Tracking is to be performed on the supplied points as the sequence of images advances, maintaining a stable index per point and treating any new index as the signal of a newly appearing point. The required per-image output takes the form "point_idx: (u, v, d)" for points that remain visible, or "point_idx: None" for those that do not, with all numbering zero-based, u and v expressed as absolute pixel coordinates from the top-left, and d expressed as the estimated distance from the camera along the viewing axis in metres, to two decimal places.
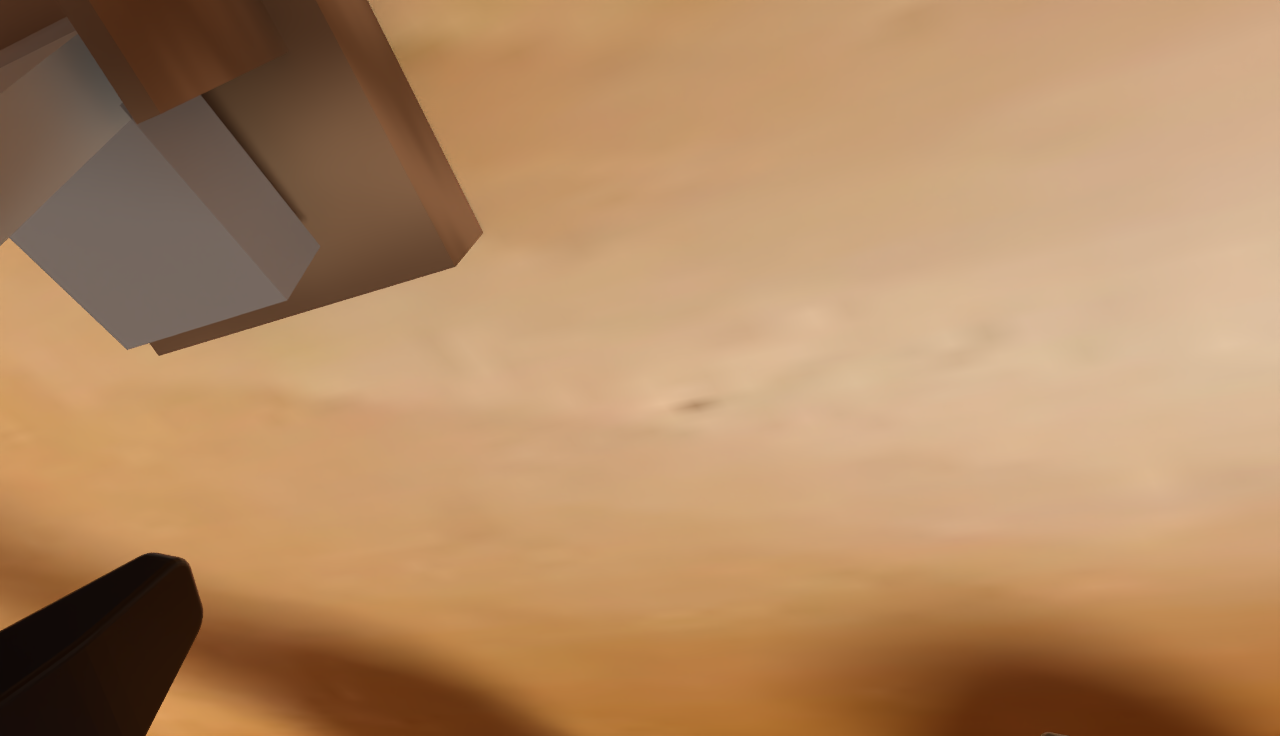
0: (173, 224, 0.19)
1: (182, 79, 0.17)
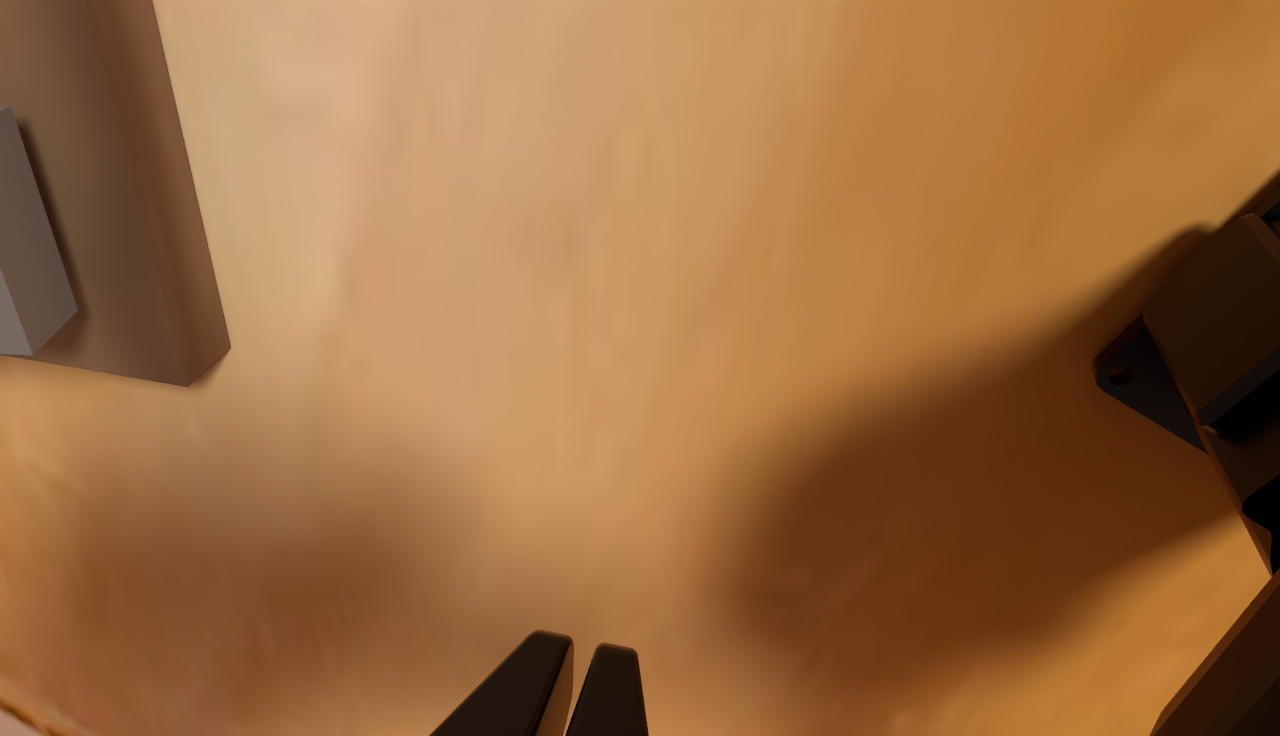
0: None
1: None
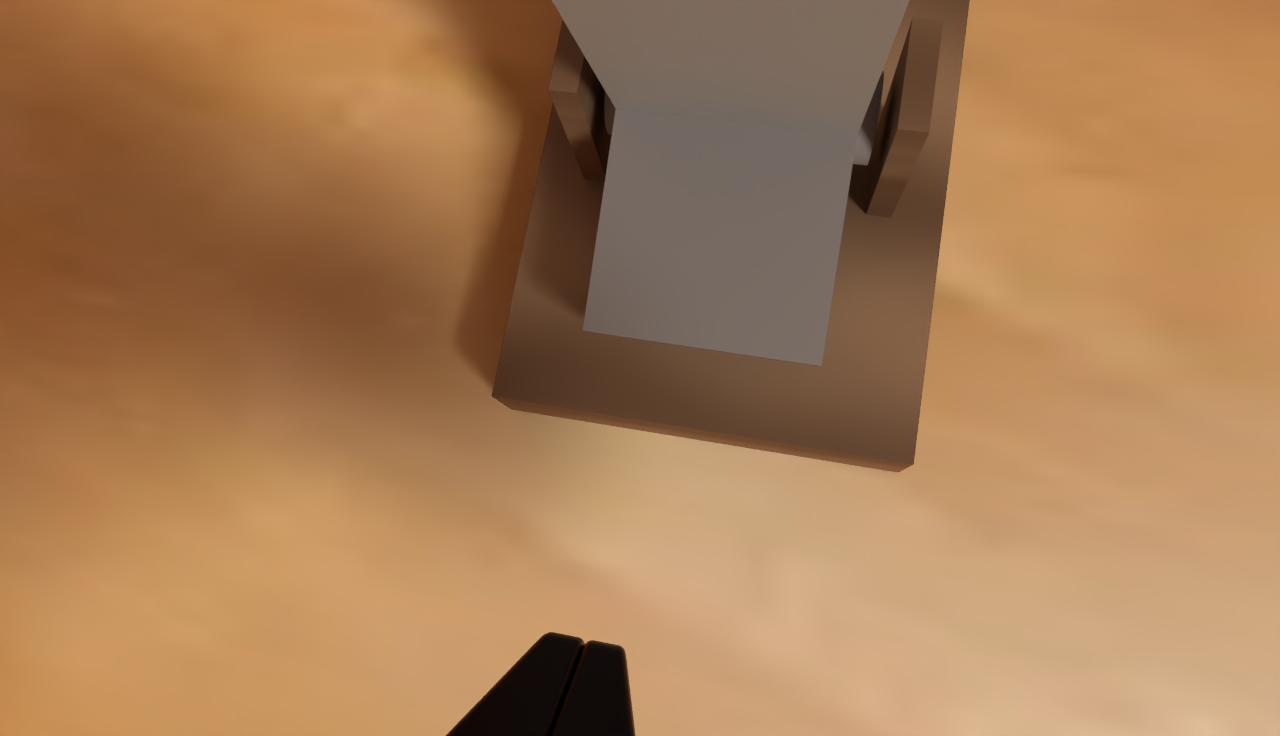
0: (788, 237, 0.19)
1: None
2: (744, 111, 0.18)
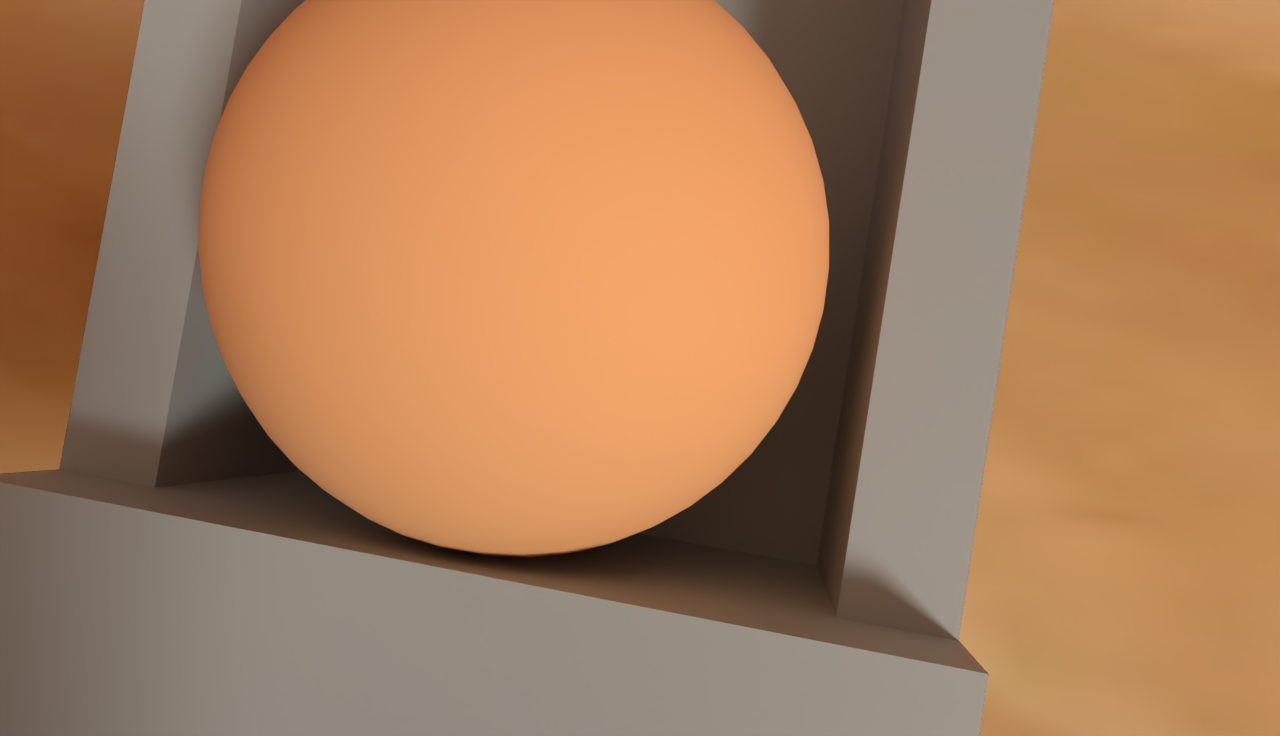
0: None
1: None
2: None
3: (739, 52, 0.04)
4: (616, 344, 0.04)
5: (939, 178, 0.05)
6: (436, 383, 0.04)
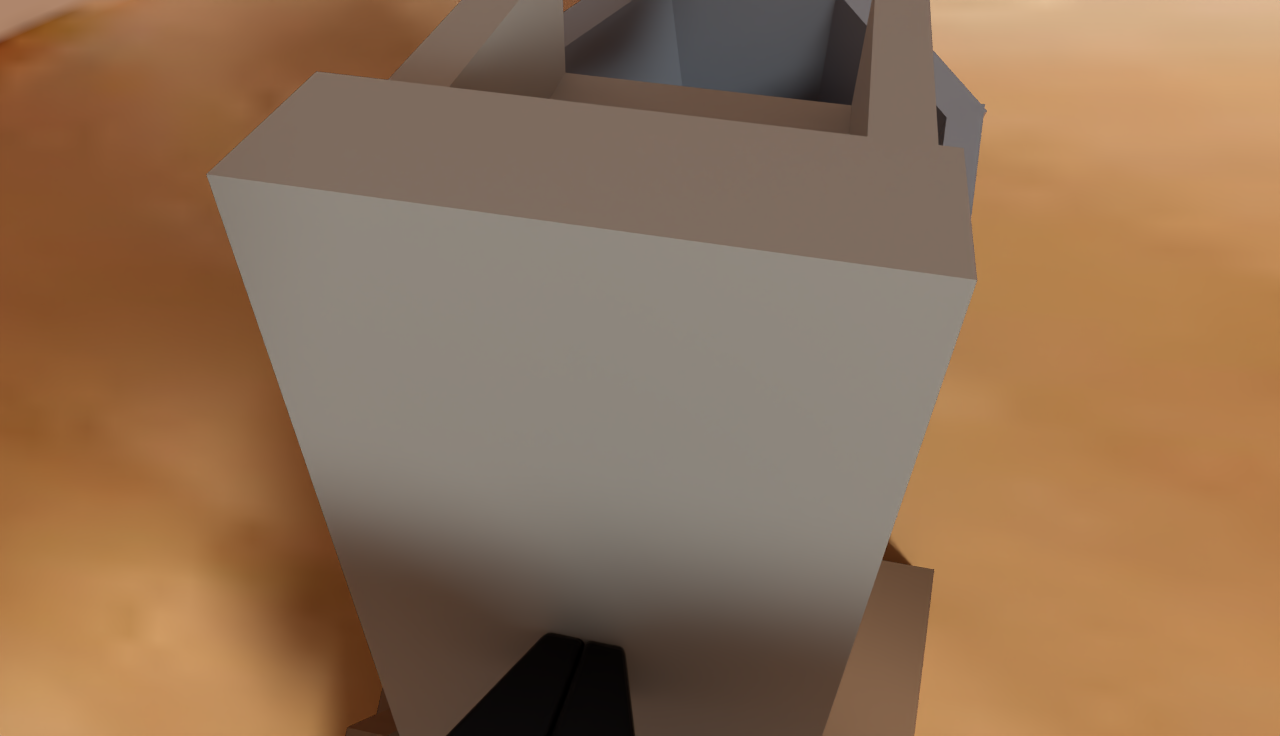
0: None
1: None
2: None
3: None
4: None
5: (888, 84, 0.09)
6: None
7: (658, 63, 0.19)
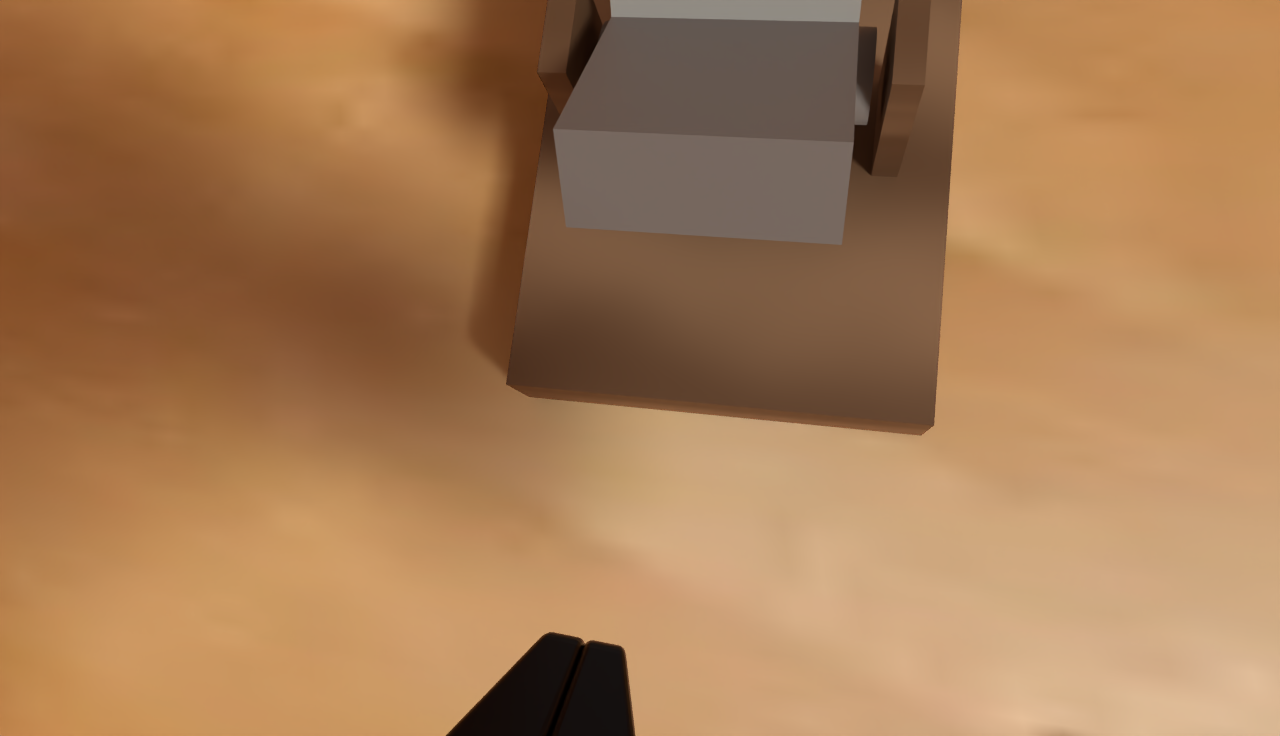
0: (797, 70, 0.17)
1: None
2: None
3: None
4: None
5: None
6: None
7: None
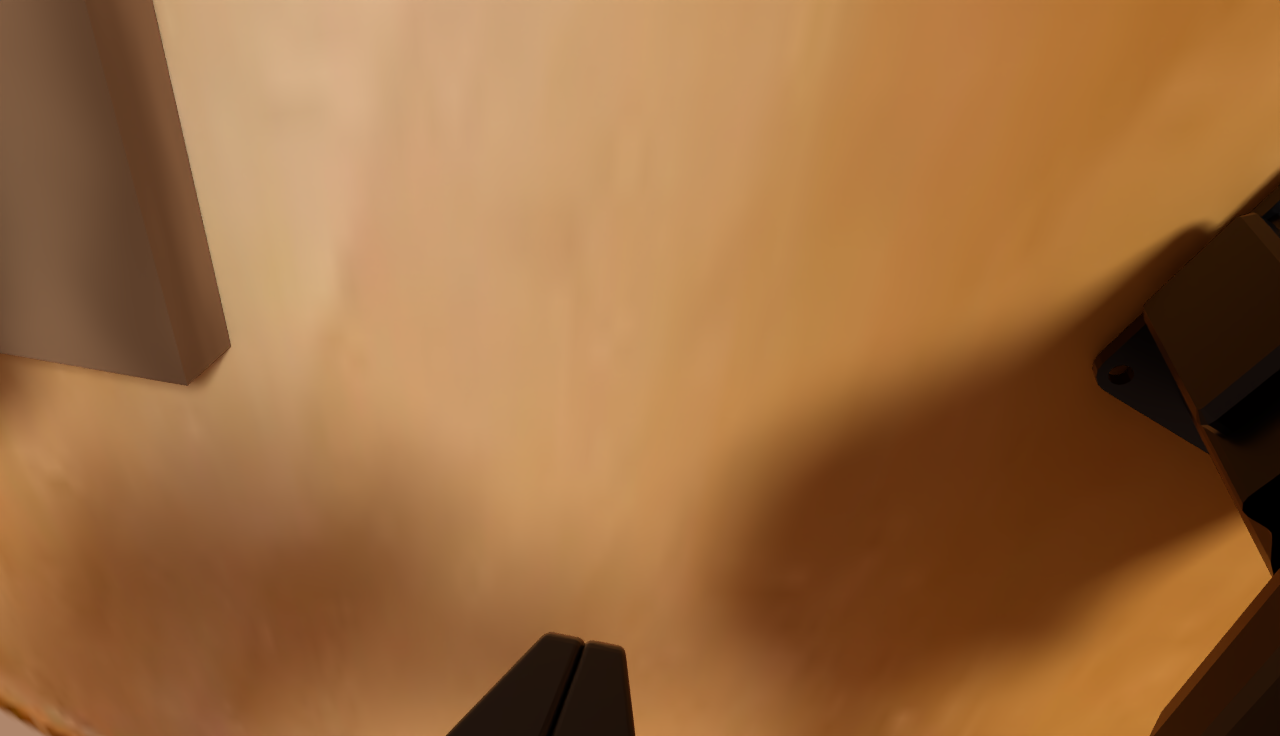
0: None
1: None
2: None
3: None
4: None
5: None
6: None
7: None
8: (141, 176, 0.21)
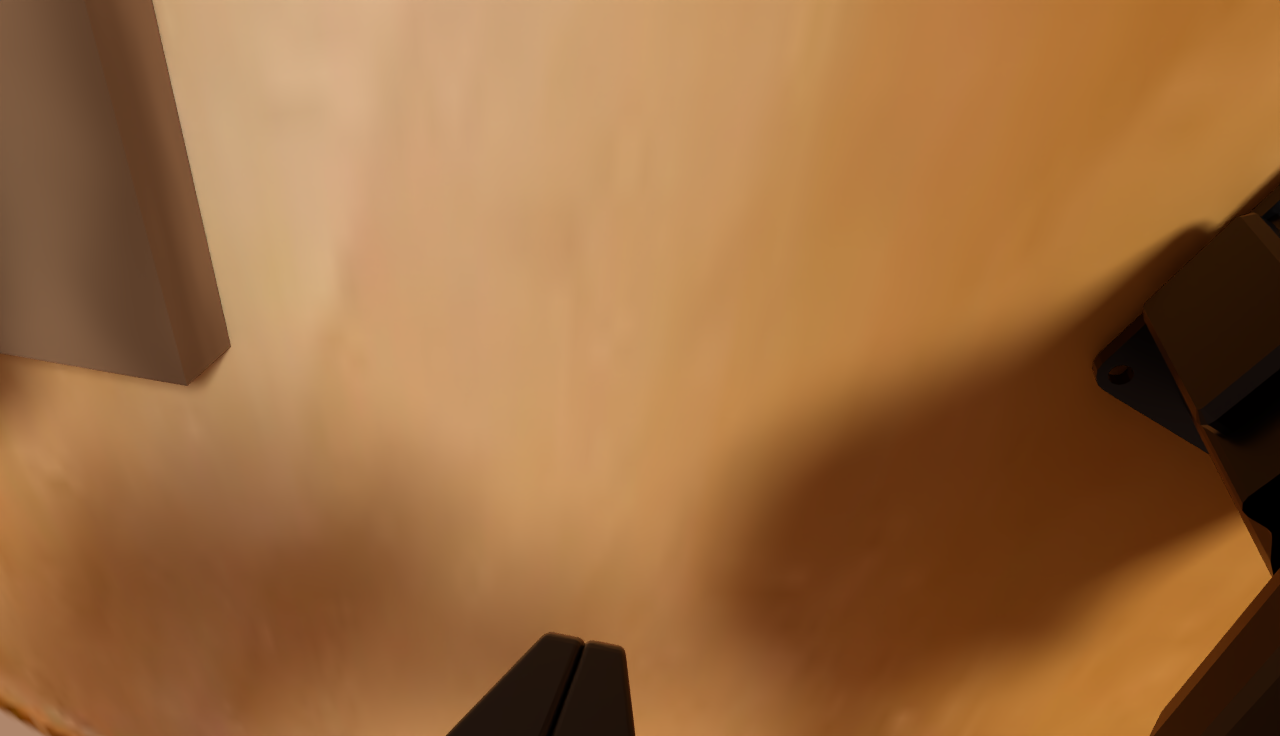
0: None
1: None
2: None
3: None
4: None
5: None
6: None
7: None
8: (141, 176, 0.21)
